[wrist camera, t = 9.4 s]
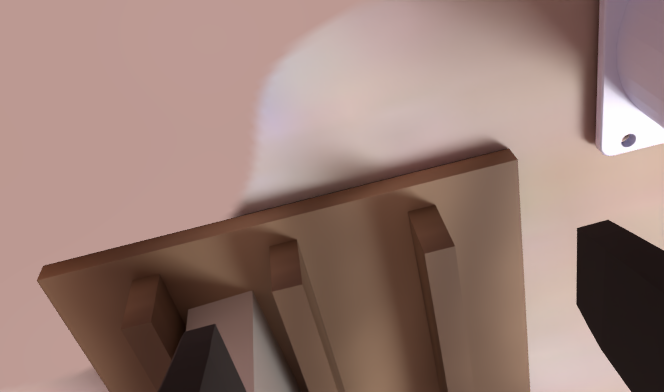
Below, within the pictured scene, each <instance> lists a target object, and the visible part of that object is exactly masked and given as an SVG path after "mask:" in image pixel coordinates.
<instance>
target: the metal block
mask: <svg viewBox="0 0 664 392" xmlns="http://www.w3.org/2000/svg"><path fill="white" fill-rule="evenodd" d="M212 324H216V326H217V328H218V330H219V333H220V335H221V337H222V339H223V341H224V344H225V346H226V348H227V350H228V352H229V354H230V357H231V359H232V361H233V363H234V365H235V368H236V370H237V372H238V374H239V376H240V378H241V381H242V383H243V385H244V387H245V389H246V392H301V390H300V388H299V385H298V383H297V381H296V379H295V377H294V375H293V373H292V371H291V369H290V367H289V365H288V363H287V361H286V359H285V357H284V355H283V352H282V350H281V348H280V346H279V344H278V342H277V340H276V338H275V336H274V334H273V332H272V330H271V328H270V326H269V324H268V322H267V319H266V317H265V315H264V313H263V311H262V309H261V307H260V305H259V303H258V301H257V299H256V297H255V295H254V293H253V291H248V292H245V293H242V294H238V295H235V296H232V297H228V298H225V299H222V300H218V301H215V302H212V303H208V304H205V305H202V306H198V307H195V308H192V309H188V316H187V325H186V331H189V330H193V329H197V328H200V327H204V326H208V325H212Z"/></svg>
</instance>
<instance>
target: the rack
mask: <svg viewBox="0 0 664 392" xmlns="http://www.w3.org/2000/svg"><path fill="white" fill-rule="evenodd" d="M37 281H38V283H39V285H40V286H41V288H42V289H43V291H44V292H45V294H46V295H47V297H48V298H49V299H50V301H51V303H52V304H53V306H54V307H55V309H56V311H57V312H58V313H59V315H60V317H61V318H62V320H63V321H64V323H65V324H66V326H67V327H68V329H69V330H70V332H71V333H72V335H73V336H74V338H75V339H76V341H77V343H78V344H79V346H80V347H81V349H82V350H83V352H84V353H85V355H86V356H87V358H88V359H89V361H90V362H91V364H92V365H93V367H94V369H95V370H96V372H97V373H98V375H99V376H100V378H101V379H102V381H103V382H104V384H105V385H106V387H107V388H108V390H109V391H110V392H158V390H159V388H160V385H161V383H162V381H163V379H164V376H165V374H166V372H167V370H168V367H169V365H170V363H171V360H172V358H173V356H174V353H175V351H176V348H177V346H178V344H179V341H180V339H181V337H182V335H183V334H184V332H185V331H186V325H187V316H188V309H192V308H195V307H198V306H202V305H205V304H208V303H212V302H215V301H218V300H222V299H225V298H228V297H232V296H235V295H238V294H242V293H245V292H248V291H253V293H254V295H255V297H256V299H257V301H258V303H259V305H260V307H261V309H262V311H263V313H264V315H265V317H266V319H267V322H268V324H269V326H270V328H271V330H272V332H273V334H274V336H275V338H276V340H277V342H278V344H279V346H280V348H281V350H282V352H283V355H284V357H285V359H286V361H287V363H288V365H289V367H290V369H291V371H292V373H293V375H294V377H295V379H296V381H297V383H298V385H299V388H300V390H301V392H530V380H529V362H528V343H527V325H526V306H525V288H524V269H523V251H522V232H521V214H520V195H519V177H518V160H517V158H516V157H515V156H514V154H513V153H512V152H511V150H510V149H505V150H501V151H497V152H493V153H489V154H485V155H481V156H477V157H473V158H469V159H466V160H462V161H458V162H454V163H450V164H446V165H442V166H438V167H434V168H430V169H426V170H422V171H418V172H414V173H410V174H406V175H402V176H398V177H394V178H390V179H386V180H382V181H378V182H374V183H370V184H366V185H362V186H358V187H354V188H350V189H346V190H343V191H339V192H335V193H331V194H327V195H323V196H319V197H315V198H311V199H307V200H303V201H299V202H295V203H291V204H287V205H283V206H279V207H275V208H271V209H267V210H263V211H259V212H255V213H251V214H247V215H243V216H239V217H235V218H231V219H227V220H224V221H220V222H216V223H212V224H208V225H204V226H200V227H196V228H192V229H188V230H184V231H180V232H176V233H172V234H168V235H164V236H160V237H156V238H152V239H148V240H144V241H140V242H136V243H133V244H128V245H124V246H120V247H116V248H113V249H108V250H105V251H101V252H97V253H93V254H89V255H85V256H81V257H77V258H73V259H69V260H65V261H61V262H57V263H53V264H49V265H45V266H43V268H42V270H41V272H40V275H39V277H38V279H37Z"/></svg>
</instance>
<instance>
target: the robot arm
mask: <svg viewBox="0 0 664 392" xmlns="http://www.w3.org/2000/svg"><path fill="white" fill-rule="evenodd" d="M628 134H630V135H629V138H628V139H627V140H625V141H623V142H621V141H622V139H623V138H624V136H626V135H628ZM662 143H664V0H600V8H599V42H598V76H597V111H596V147H597V149H598V150H599V151H600V152H601V153H602V154H603V155H606V156H614V155H618V154H622V153H626V152H630V151H634V150H638V149H642V148H646V147H650V146H654V145H658V144H662ZM576 304H577V306H578V308H579V310H580V312H581V313H582V315H583V317H584V319H585V321H586V323H587V325H588V327H589V329H590V330H591V332H592V334H593V336H594V338H595V339H596V341H597V343H598V345H599V346H600V348H601V350H602V351H603V353H604V354H605V355H606V357H607V358H608V360H609V361H610V363H611V364H612V365H613V367H614V368H615V370H616V371H617V372H618V374H619V375H620V377H621V378H622V379H623V381H624V382H625V384H626V385H627V386H628V388H629V389H630V390H631V392H664V251H663V250H662V249H660V248H658V247H656V246H654V245H653V244H651V243H649V242H647V241H646V240H644V239H642V238H640V237H638V236H637V235H635V234H633V233H631V232H629V231H628V230H626V229H624V228H622V227H620V226H619V225H617V224H615V223H613V222H611V221H609V220H606V221H602V222H598V223H594V224H591V225H587V226H583V227H579V228H577V303H576ZM158 392H246V389H245V387H244V385H243V383H242V381H241V378H240V376H239V374H238V372H237V370H236V368H235V365H234V363H233V361H232V359H231V357H230V354H229V352H228V350H227V348H226V346H225V344H224V341H223V339H222V337H221V335H220V333H219V330H218V328H217V326H216V324H212V325H208V326H204V327H200V328H197V329H193V330H189V331H185V332H184V334H183V335H182V337H181V339H180V341H179V344H178V346H177V348H176V351H175V353H174V356H173V358H172V360H171V363H170V365H169V367H168V370H167V372H166V374H165V376H164V379H163V381H162V383H161V385H160V388H159V390H158Z"/></svg>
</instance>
